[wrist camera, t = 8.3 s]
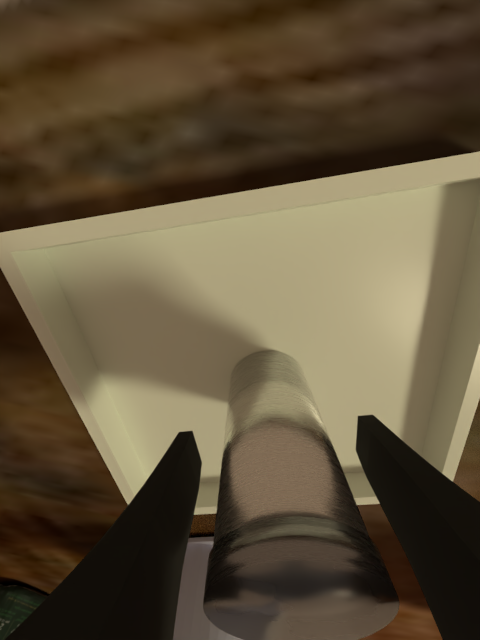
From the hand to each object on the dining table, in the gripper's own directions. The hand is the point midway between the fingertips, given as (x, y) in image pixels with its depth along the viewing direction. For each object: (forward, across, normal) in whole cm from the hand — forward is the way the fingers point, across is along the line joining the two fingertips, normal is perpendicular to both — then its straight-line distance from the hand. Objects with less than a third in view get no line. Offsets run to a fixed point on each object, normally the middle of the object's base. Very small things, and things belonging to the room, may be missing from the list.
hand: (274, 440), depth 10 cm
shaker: (+4, 0, 0) cm, 4 cm away
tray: (+5, 0, 0) cm, 5 cm away
